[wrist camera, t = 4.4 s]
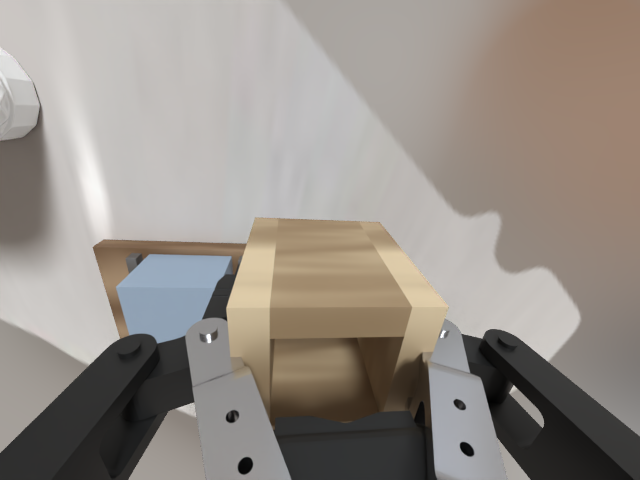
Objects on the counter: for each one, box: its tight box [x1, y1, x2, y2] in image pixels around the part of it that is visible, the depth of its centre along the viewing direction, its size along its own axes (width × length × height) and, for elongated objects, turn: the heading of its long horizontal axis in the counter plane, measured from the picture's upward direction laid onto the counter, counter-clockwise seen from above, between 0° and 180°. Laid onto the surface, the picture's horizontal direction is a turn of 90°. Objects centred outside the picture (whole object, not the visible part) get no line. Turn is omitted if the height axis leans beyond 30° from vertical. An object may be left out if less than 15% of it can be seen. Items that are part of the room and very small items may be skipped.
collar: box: [226, 218, 449, 430], centre depth 11 cm, size 6×6×6 cm
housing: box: [116, 254, 233, 343], centre depth 23 cm, size 6×7×5 cm
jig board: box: [93, 240, 247, 339], centre depth 25 cm, size 15×22×8 cm
